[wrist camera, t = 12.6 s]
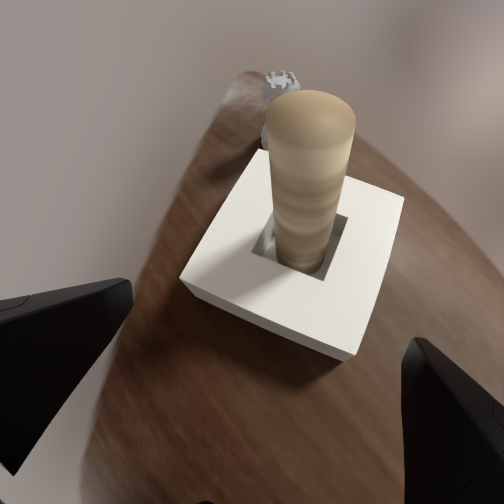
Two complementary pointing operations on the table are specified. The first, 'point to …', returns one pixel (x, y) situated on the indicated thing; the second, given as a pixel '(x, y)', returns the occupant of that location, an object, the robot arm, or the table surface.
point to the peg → (307, 172)
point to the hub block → (291, 281)
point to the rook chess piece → (277, 93)
